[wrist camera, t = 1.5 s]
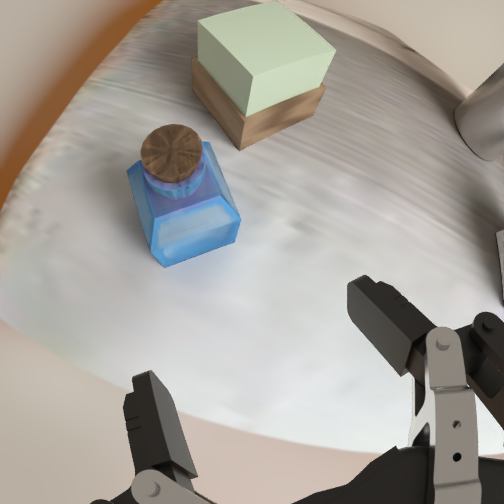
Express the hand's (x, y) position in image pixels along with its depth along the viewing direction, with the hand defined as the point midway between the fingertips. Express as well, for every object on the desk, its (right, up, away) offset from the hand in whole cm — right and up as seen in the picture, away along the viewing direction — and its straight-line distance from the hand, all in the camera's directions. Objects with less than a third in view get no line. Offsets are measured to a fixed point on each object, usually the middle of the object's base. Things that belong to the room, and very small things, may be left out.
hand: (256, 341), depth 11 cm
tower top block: (0, +19, +14) cm, 24 cm away
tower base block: (0, +19, +19) cm, 26 cm away
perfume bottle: (-6, +6, +15) cm, 17 cm away
